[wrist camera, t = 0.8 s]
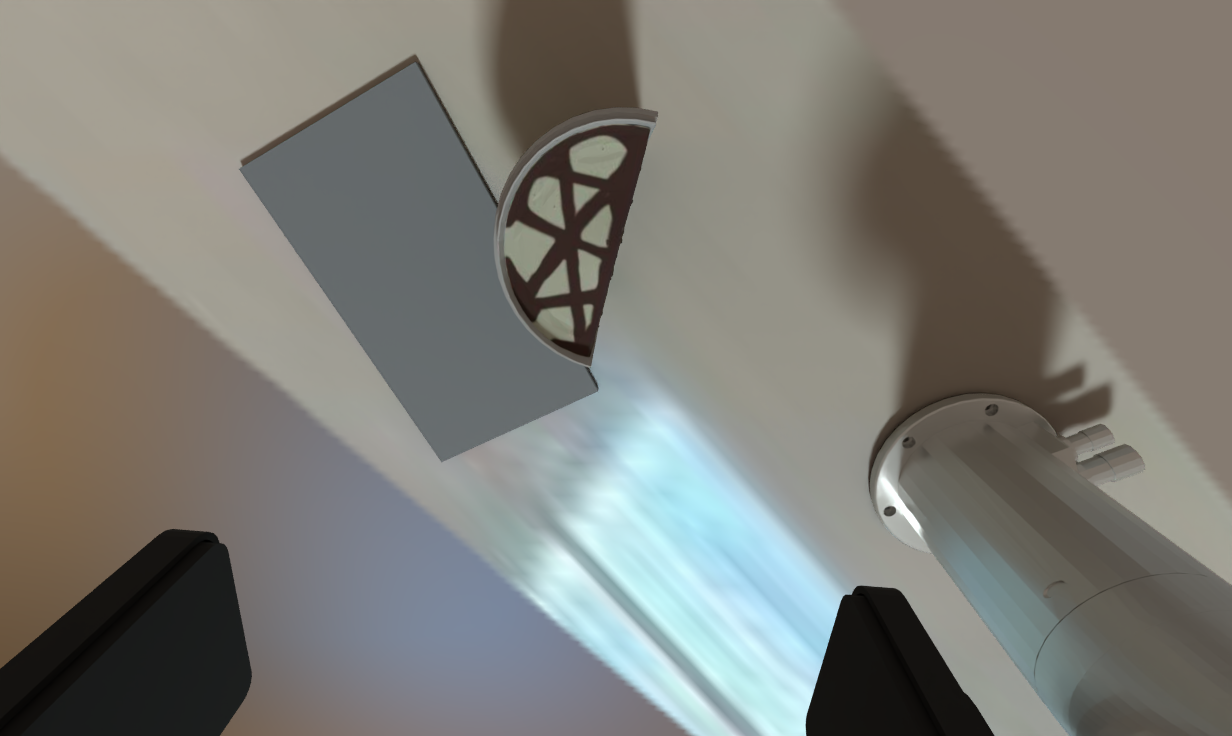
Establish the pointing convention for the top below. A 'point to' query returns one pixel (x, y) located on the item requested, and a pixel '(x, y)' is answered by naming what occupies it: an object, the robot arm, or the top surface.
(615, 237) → the food container
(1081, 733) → the robot arm
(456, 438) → the rubber mat
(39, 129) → the top surface
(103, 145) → the top surface
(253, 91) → the top surface
